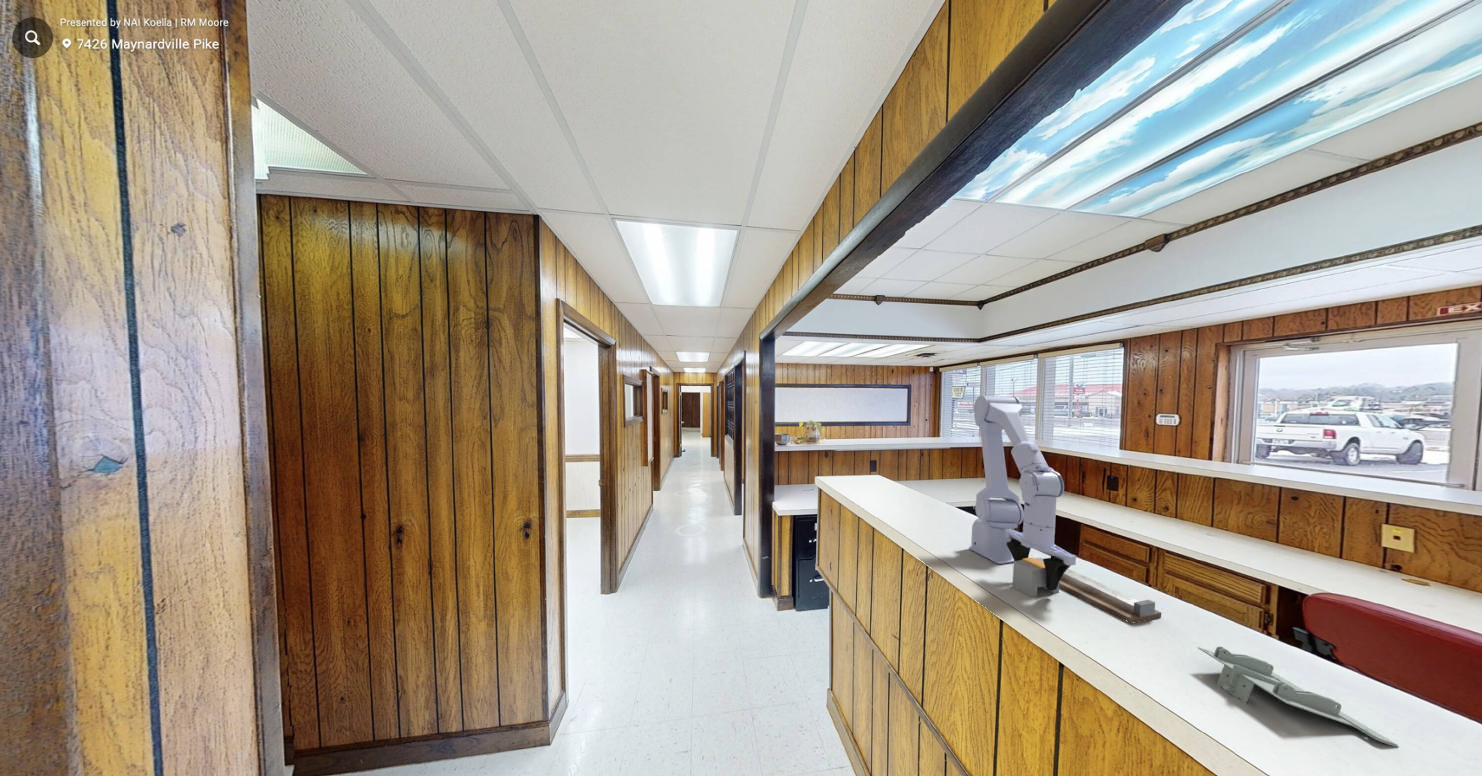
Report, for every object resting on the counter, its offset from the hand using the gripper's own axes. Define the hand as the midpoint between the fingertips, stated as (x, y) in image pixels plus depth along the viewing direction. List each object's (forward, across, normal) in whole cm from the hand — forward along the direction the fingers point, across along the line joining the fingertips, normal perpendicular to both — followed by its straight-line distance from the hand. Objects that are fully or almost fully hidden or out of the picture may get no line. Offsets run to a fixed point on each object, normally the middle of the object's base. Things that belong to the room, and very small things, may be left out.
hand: (1035, 581), depth 87 cm
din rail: (+2, +5, +11) cm, 12 cm away
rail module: (+2, 0, 0) cm, 2 cm away
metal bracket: (+3, +32, +7) cm, 32 cm away
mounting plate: (+2, +5, +11) cm, 12 cm away
